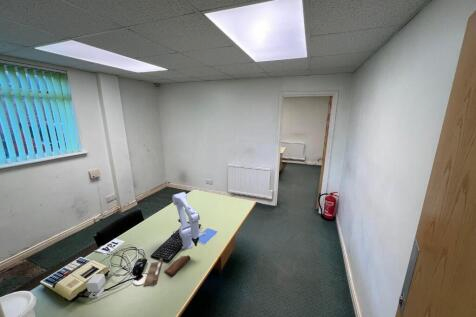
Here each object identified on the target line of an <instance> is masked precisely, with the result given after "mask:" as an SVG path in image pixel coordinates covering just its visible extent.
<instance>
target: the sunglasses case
mask: <svg viewBox="0 0 476 317" xmlns="http://www.w3.org/2000/svg"><path fill="white" fill-rule="evenodd" d="M190 260H191V256H190V255H181V256H180V257H179V258H177V259H176V260H175V261H173V262H172V264H171V265H169V266H168V268H166V269H165V270H164V271H163V273H164V274H166V275H167V276H169V277H171V278H173V277H174V276H175V274H176V273H178V271H179V270H180V269H181V268H182V267H184V266H185V264H186V263H187V262H188V261H190Z"/></svg>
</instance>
